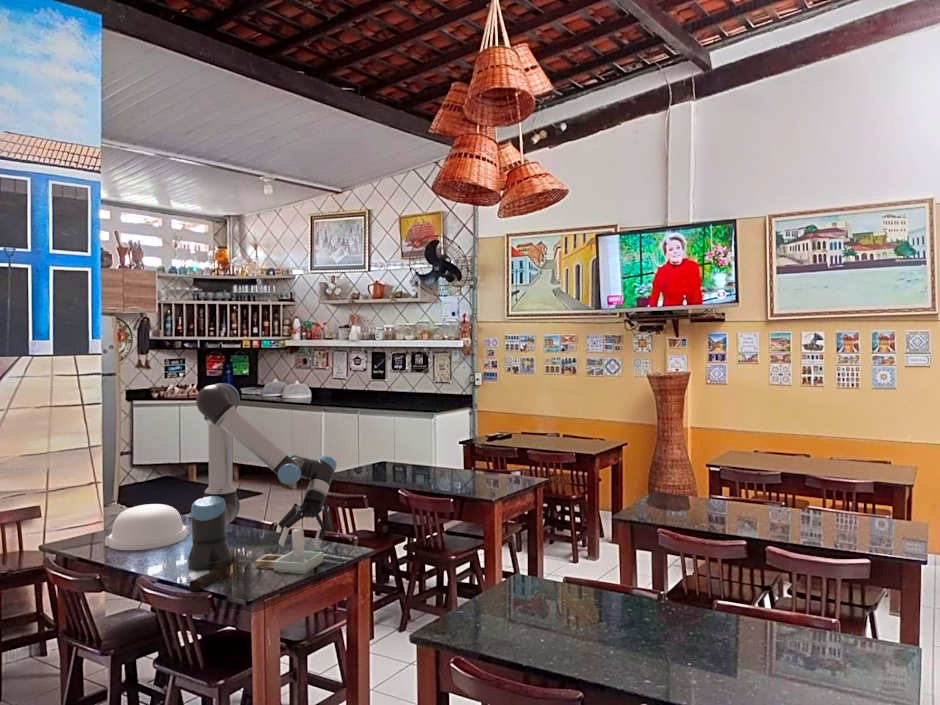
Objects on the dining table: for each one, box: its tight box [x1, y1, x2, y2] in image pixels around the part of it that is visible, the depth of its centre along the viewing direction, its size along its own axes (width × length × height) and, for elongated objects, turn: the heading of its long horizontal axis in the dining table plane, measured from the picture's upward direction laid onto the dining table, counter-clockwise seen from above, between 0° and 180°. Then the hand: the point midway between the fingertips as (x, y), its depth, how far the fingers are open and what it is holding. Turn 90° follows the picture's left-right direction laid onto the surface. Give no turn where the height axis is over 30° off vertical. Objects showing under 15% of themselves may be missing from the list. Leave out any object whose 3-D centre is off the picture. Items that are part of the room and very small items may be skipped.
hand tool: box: [188, 562, 228, 592], centre depth 250 cm, size 19×4×5 cm, turn 164°
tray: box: [273, 550, 324, 575], centre depth 265 cm, size 12×14×4 cm
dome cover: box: [104, 503, 190, 551], centre depth 306 cm, size 32×30×14 cm
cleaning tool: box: [291, 528, 305, 563], centre depth 265 cm, size 4×4×12 cm
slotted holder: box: [254, 553, 286, 569], centre depth 268 cm, size 8×8×2 cm
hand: (297, 545), depth 264 cm, fingers open, 13 cm apart
